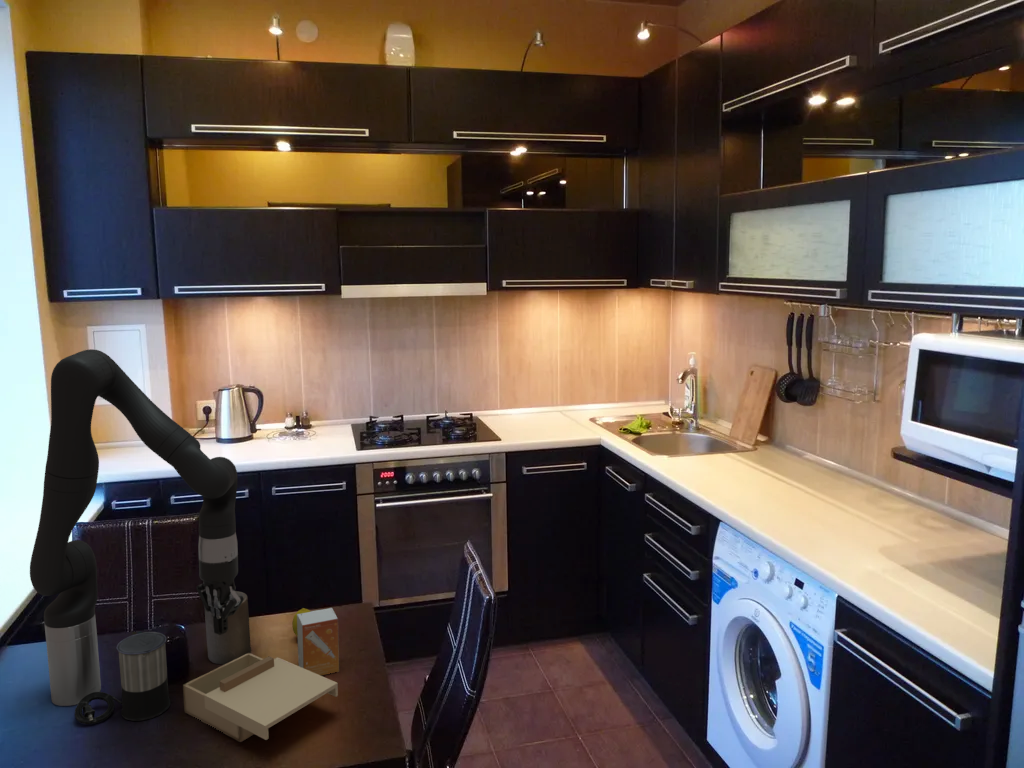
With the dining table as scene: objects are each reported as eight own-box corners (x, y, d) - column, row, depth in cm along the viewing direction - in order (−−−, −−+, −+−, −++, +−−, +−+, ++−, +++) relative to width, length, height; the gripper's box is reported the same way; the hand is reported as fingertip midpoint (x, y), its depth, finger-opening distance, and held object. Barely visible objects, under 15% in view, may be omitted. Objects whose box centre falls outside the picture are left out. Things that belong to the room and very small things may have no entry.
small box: (303, 680, 167) (301, 625, 165) (298, 667, 173) (296, 613, 171) (340, 672, 171) (338, 617, 169) (333, 659, 176) (332, 606, 175)
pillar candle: (258, 645, 183) (255, 586, 181) (238, 666, 173) (234, 604, 171) (221, 643, 184) (217, 584, 182) (198, 663, 175) (194, 601, 172)
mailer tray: (184, 712, 155) (182, 685, 154) (250, 677, 168) (248, 652, 167) (240, 742, 145) (238, 713, 144) (305, 703, 158) (304, 676, 158)
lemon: (310, 631, 190) (309, 601, 189) (319, 640, 186) (318, 609, 185) (289, 638, 186) (287, 607, 185) (298, 646, 182) (297, 615, 181)
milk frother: (180, 706, 157) (175, 639, 155) (103, 744, 145) (97, 672, 142) (143, 685, 165) (138, 621, 163) (67, 719, 153) (61, 650, 150)
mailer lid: (205, 708, 149) (203, 686, 148) (278, 669, 164) (277, 649, 163) (265, 740, 139) (264, 716, 138) (338, 695, 154) (337, 674, 153)
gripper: (182, 552, 157) (185, 630, 159) (222, 567, 150) (225, 649, 152) (214, 542, 163) (216, 617, 166) (254, 556, 156) (256, 634, 159)
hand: (221, 632), depth 159 cm, fingers closed
